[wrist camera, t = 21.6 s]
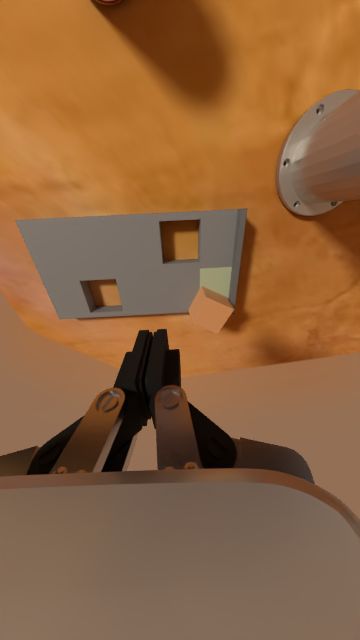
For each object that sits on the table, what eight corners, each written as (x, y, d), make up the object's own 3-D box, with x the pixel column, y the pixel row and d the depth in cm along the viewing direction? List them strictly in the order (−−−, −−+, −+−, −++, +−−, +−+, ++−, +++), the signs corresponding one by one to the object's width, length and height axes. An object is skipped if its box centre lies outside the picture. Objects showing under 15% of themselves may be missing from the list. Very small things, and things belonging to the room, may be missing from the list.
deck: (237, 209, 27) (247, 208, 24) (228, 304, 35) (233, 313, 32) (27, 219, 27) (6, 220, 23) (66, 312, 35) (54, 323, 31)
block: (225, 296, 32) (234, 309, 27) (211, 318, 34) (217, 333, 29) (201, 285, 30) (205, 297, 26) (188, 309, 33) (190, 323, 28)
